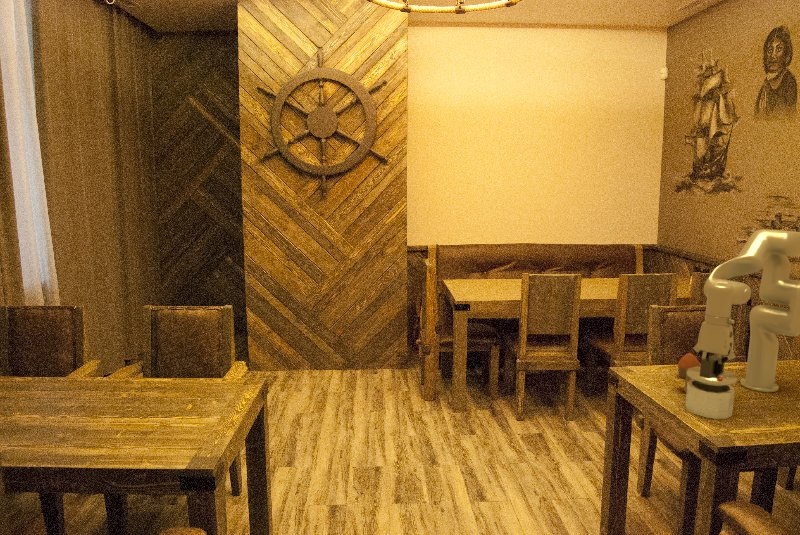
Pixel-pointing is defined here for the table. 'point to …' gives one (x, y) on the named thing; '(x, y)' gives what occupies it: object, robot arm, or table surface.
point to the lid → (711, 373)
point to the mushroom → (688, 365)
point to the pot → (709, 400)
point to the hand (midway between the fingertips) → (711, 372)
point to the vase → (682, 372)
